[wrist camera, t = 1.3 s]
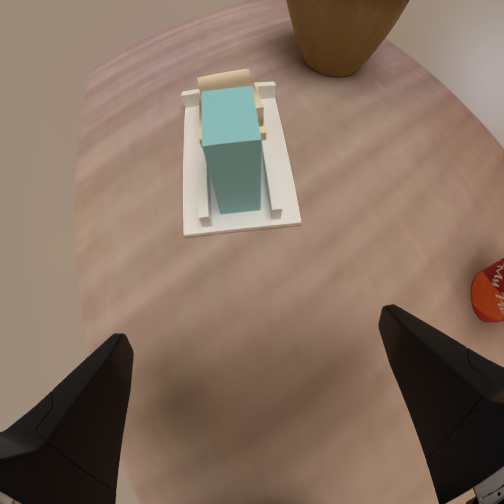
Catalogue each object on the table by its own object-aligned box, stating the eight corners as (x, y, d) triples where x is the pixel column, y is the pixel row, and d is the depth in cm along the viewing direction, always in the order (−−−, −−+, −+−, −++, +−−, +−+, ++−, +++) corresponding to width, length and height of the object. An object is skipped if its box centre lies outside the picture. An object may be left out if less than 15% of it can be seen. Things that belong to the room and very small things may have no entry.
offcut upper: (263, 125, 25) (263, 107, 22) (208, 136, 24) (204, 118, 22) (248, 86, 26) (248, 68, 24) (200, 95, 26) (197, 78, 24)
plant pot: (266, 37, 34) (267, -53, 19) (358, 40, 35) (377, -40, 19) (288, 98, 30) (300, -26, 15) (398, 99, 30) (441, 4, 15)
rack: (300, 225, 25) (304, 212, 23) (185, 237, 25) (177, 226, 22) (273, 98, 30) (274, 81, 27) (186, 107, 30) (182, 91, 27)
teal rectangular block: (260, 210, 25) (261, 139, 16) (220, 214, 25) (202, 146, 16) (254, 162, 26) (252, 86, 17) (217, 166, 26) (201, 91, 17)
